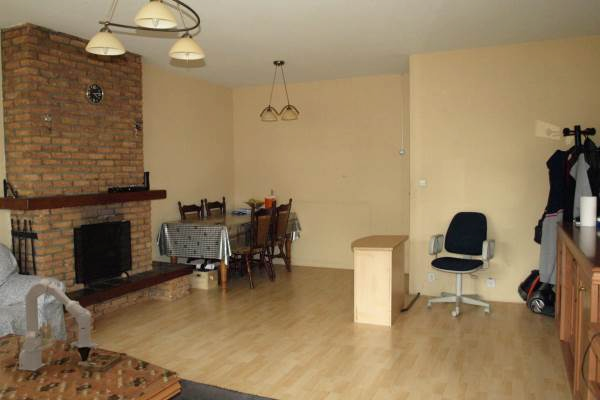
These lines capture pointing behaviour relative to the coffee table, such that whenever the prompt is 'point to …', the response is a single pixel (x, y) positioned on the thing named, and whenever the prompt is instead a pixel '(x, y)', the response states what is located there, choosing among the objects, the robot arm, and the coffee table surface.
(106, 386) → the coffee table surface
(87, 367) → the holder
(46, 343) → the ceramic cottage
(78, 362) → the lighter
